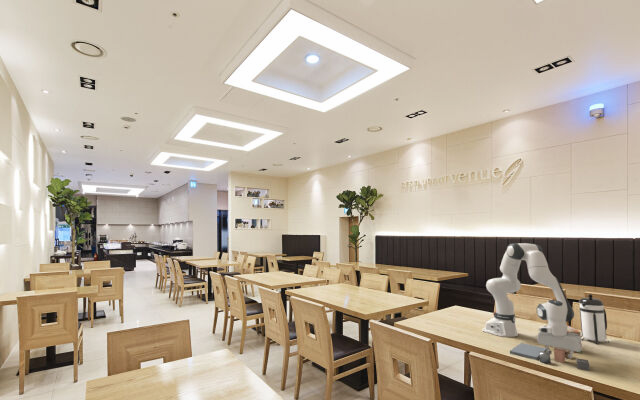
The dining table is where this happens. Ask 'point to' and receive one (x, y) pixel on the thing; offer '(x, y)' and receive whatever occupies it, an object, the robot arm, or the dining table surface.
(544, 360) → the dark metal cylinder
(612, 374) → the dining table surface
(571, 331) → the stack of blocks
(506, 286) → the robot arm
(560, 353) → the terracotta block
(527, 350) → the slate board
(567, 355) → the walnut block
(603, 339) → the coffee press
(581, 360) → the charcoal rubber cube
